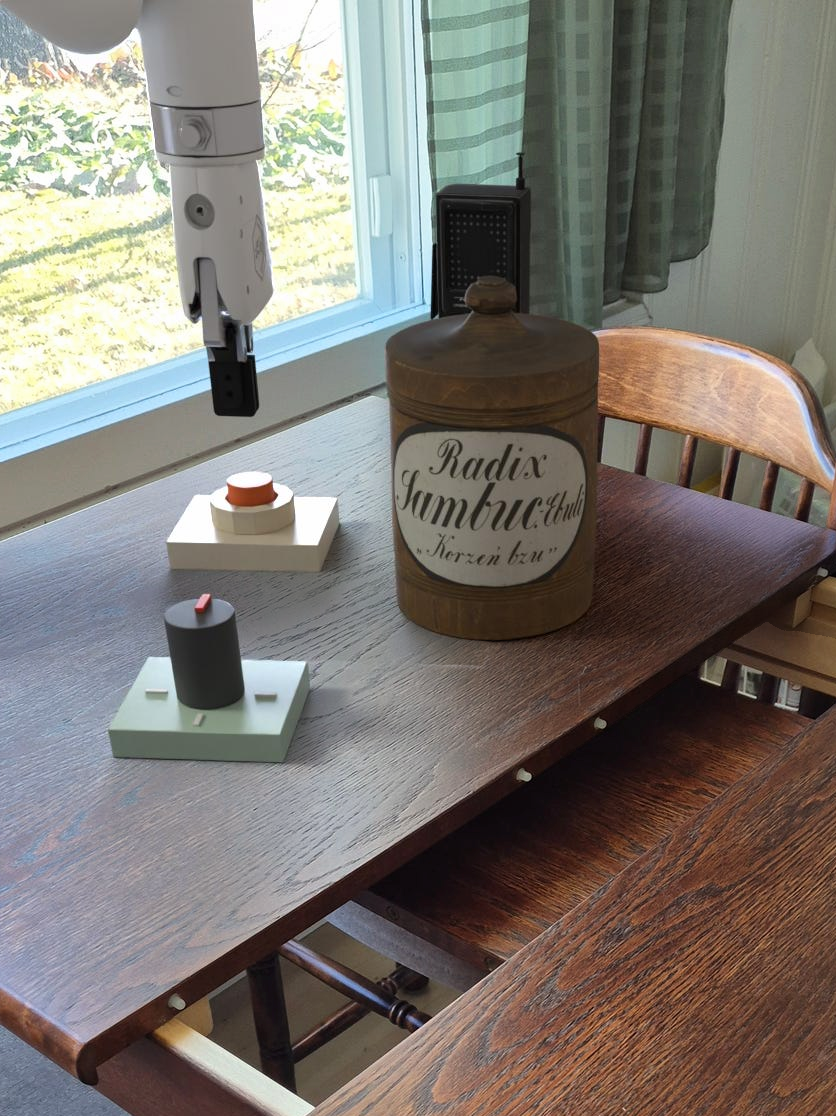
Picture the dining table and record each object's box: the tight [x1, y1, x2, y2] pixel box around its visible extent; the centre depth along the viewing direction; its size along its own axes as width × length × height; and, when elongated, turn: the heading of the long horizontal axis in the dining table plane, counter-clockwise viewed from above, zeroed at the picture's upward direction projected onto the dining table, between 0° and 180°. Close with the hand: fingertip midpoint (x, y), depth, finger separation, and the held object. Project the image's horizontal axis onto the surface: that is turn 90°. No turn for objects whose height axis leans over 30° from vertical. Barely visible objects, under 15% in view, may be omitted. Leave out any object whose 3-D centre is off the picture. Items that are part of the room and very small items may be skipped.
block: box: [165, 482, 341, 573], centre depth 115 cm, size 12×10×4 cm
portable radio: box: [429, 151, 532, 320], centre depth 118 cm, size 8×6×25 cm
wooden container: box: [384, 276, 600, 641], centre depth 101 cm, size 15×15×22 cm
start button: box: [226, 470, 275, 507], centre depth 113 cm, size 4×4×2 cm
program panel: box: [107, 656, 311, 763], centre depth 94 cm, size 11×10×2 cm
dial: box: [163, 593, 245, 709], centre depth 91 cm, size 4×4×6 cm
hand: (237, 412), depth 109 cm, fingers closed
